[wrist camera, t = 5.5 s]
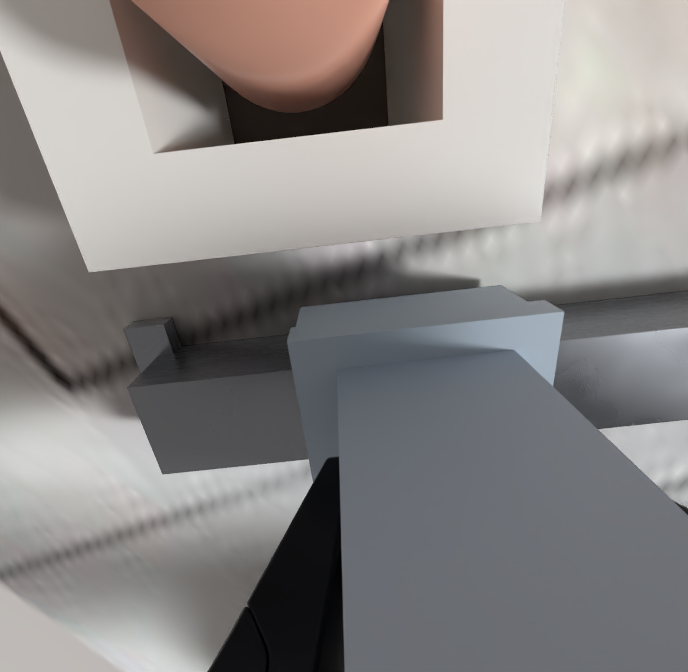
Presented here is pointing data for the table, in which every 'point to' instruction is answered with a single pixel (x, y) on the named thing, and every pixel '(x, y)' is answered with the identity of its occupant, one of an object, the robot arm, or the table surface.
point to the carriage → (482, 495)
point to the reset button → (276, 44)
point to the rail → (282, 404)
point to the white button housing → (288, 153)
